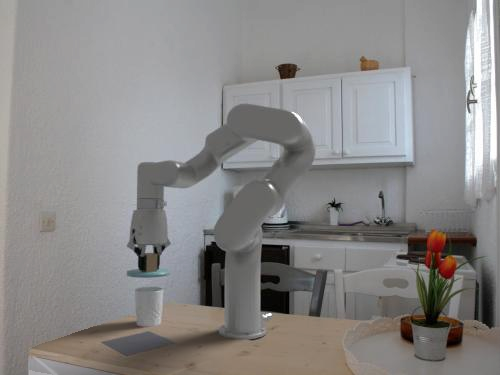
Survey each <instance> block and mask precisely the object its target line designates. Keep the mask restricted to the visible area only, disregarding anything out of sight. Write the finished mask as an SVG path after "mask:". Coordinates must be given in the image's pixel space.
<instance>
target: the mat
mask: <svg viewBox="0 0 500 375" xmlns="http://www.w3.org/2000/svg"><path fill="white" fill-rule="evenodd" d="M101 343H102V344H104V345H105V346H107V347H110V348H111V349H113V350H115V351H117V352H118V353H120V354H122V355H124V356H126V357H129V356H132V355H137V354H139V353H140V354H141V353H144V352H147V351H148V352H149V351H152V350H155V349H159V348H162V347H166V346H170V345H174V344H177V342H176V341H174V340H171V339H168V338H167V337H164V336H161V335H159V334H157V333H154V332H151V331H150V330H148V331H143V332H140V333H134V334H132V335H131V334H130V335H126V336H121V337H116V338H113V339H108V340H104V341H103V340H102V341H101Z"/></svg>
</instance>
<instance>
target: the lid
mask: <svg viewBox="0 0 500 375" xmlns="http://www.w3.org/2000/svg"><path fill="white" fill-rule="evenodd" d="M145 257H146V271H141V270H139V268H135V269H129V270H127V271H126V276H127V277H131V278H142V279H145V278H146V279H150V278H160V277H161V278H162V277H166V276H170V275H171V270H170V269H167V268H160V267H159V269H158V270H157V254H156V253H153V252H147V253H146V252H145Z"/></svg>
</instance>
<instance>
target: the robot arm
mask: <svg viewBox="0 0 500 375" xmlns="http://www.w3.org/2000/svg"><path fill="white" fill-rule="evenodd" d="M258 141H262V142H266V143H272V144H276V145H279V146H281V147H282V149H283V151H282V154H281V155H280V156H279V157H278V158H277V159H276V160H275V161H274V163H273V164H272V166H271V167H270V168H269V169H268V171H267V172H266V174H265V175H263V177H262V178H261V179H258V178H257V179H254V180H251V181H248V182H247V183H246V184H245V185H243V187H241V188H240V189H239V191H238V192H237V194H236V195H235V196H234V198H232V200H231V202H230V203H229V205H228V206H227V207H226V208H225V210H224V211H223V212H222V213H221V215H220V216H219V217H218V219H217V221H216V223H215V225H214V228H213V240H214V242H215V243H216V245H217V247H218V248H220V249H221V250H222V251H225V258H224V259H225V261H224V324H223V325H221V326H219V328H218V334H219V335H220V336H223V337H225V338H228V339H229V338H230V339H237V340H254V339H255V340H256V339H260V338H262V337H263V336H266V334H267V327H266V326H265V325H264V324H265V322H269V321H272V320H273V314H272V313H271V312H268V313H264V314H263V313H261V259H262V248H263V247H262V245H263V228H262V225H263V224H264V223H265V221H266V220H267V219H268V218H270V217H273V216H275V215H277V214H278V213H279V212H281V209H282V208H283V207H284V205H285V204H286V202H287V201H288V200H289V199H290V197H291V195H292V194H293V193H295V192H294V191H295V190H296V189H297V188H298V186H299V185H300V183H301V182H302V180H303V179H304V178H305V177H306V175H307V174H308V172H309V170H310V169H311V167H312V165H313V163H314V160H315V157H316V143H315V140H314V136H313V134H312V132H311V129H310V128H309V127H308V125H307V123H306V122H305V121H304V120H303V119H302V118H301V117H300V115H298V114H297V113H295V112H293V111H291V110H287V109H282V108H275V107H270V106H269V107H268V106H264V105H258V104H251V103H239V104H237V105H235V106H233V107H232V108H231V109H230V111H228V113H227V115H226V123H225V124H223V125H221V126H220V127H219V128H216V129H215V130H214V131H212V132H210V133H208V134H207V135H206V137H205V142H204V147H203V148H202V150H201V151H200V152H198V153H197V154H196V155H195V156H193V157H192V158H190V159H188V160H187V161H185V162H181V161H178V160H172V159H171V160H170V159H169V160H164V161H163V160H162V161H158V162H154V161H142V162H140V163H139V164H138V165H137V170H136V174H137V176H136V180H137V181H136V209H134V210H133V212H132V216H131V221H130V228H129V241H128V243H127V244H126V247H127V248H128V249H129V250H131V251H133V252H134V254H135V255H136V256H138V257H137V269H139V270H141V271H146V257H145V253H146V250H147V249H146V248H147V246H152V253H156V254H157V270H158V269H159V268H160V264H161V255H162V253H163V252H164V251H165V250H166V248H168V247H169V246H170V245H171V243H172V242H170V239H169V238H168V237H169V236H168V233H169V231H168V229H169V228H168V219H167V214H166V213H167V212H166V210H165V207H167V206H168V202H167V201H165V198H164V197H165V194H164V192H165V191H164V190H165V187H166V188H173V189H175V188H176V189H189V188H192V187H193V186H195V185H197V184H199V183H200V182H202V181H203V180H205V179H206V178H208V177H209V176H211V175H212V174H213V173H215V171H216V170H218V169H219V168H220V167H221V166H222V164H223V163H224V162H225V161H227V160H229V159H230V158H232V157H233V156H235V155H237V154H238V153H239V152H241V151H244V150H245V149H247V148H248V147H250V146H251V145H253V144H255V143H256V142H258Z"/></svg>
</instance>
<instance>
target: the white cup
mask: <svg viewBox="0 0 500 375" xmlns="http://www.w3.org/2000/svg"><path fill="white" fill-rule="evenodd" d="M134 300H135V301H134V305H135V307H134V308H135V318H136V325H137V326H138V327H146V328H147V327H155V326H158V325H160V324H162V315H163V302H164V288H163V287H161V286H143V287H137V288H135V289H134Z"/></svg>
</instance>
